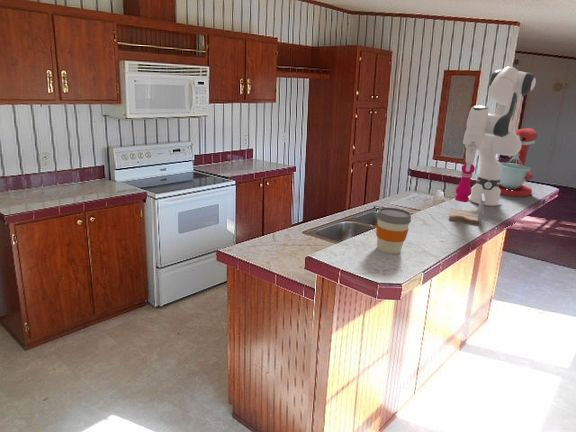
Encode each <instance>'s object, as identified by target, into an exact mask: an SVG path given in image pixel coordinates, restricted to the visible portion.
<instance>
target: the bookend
mask: <svg viewBox="0 0 576 432" xmlns="http://www.w3.org/2000/svg"><path fill="white" fill-rule="evenodd" d="M484 203H485V198H484V194H482V193H481V198H480V202H479V204H478V208H477V212H475V211H469V210H465V209H464V210H463V209H459V208H458V209H457V208H452V207H451V208H450V210H449V217H448V220H449V221H452V222H458V223H464V224H469V225H470V224H471V225H475V226H480V224H481V221H482V216H483V213H484V207H485V205H484Z"/></svg>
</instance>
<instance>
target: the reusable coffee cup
mask: <svg viewBox="0 0 576 432" xmlns="http://www.w3.org/2000/svg"><path fill="white" fill-rule="evenodd" d="M376 219H377V223H376V227H375V228H376V231H375V233H376V234H375V235H376V238H377V239H376V243H377V244H376V245H377V246H376V248H377V250H378V251H380V252H382V253H384V254H390V255H391V254H392V255H393V254H394V255H395V254H399V253H401V252H402V249H403V245H404V241H406V238H407V235H408V232H409V230H410V229H409V225H410V223H411V221H412V220H411V219H412V213H411V212H410V211H407V210H406V209H405V210H404V209H400V208H397V207H380V208H379V209H378V211H377V216H376Z"/></svg>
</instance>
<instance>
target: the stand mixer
mask: <svg viewBox="0 0 576 432" xmlns="http://www.w3.org/2000/svg"><path fill="white" fill-rule="evenodd" d="M515 132H516V135H517V136H518V138H519V139H520V140H521V149H520V151H519V152H518V153H517V154H516V155H514V156H512V157H511V159H510V160H509V161H507V162H500V163H501V165H502V171H501V175H500V184H499V186H498V187H499V189H500V190H501V192H500V195H502V194H504V195H503V196H507V195H509V196H508V197H514V196H527V197H529V195H530V196H531V195H532V193H533V190H532V187H530V186H527V185H524V183H525V182H526V180H527V181H528V180H532V179H533V174H532V173H531V167H529V166H526V165H525V164H526V159H527V155H528V152H529V148H530V145H533V144H536V139H537V135H538V133H537V131H536V130H535V129H533V128H532V127H528V128H519V129H517V130H515ZM506 189H508V190H506ZM511 190H513V191H511Z"/></svg>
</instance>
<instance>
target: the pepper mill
mask: <svg viewBox="0 0 576 432" xmlns="http://www.w3.org/2000/svg"><path fill="white" fill-rule="evenodd" d="M466 164H467V163H466V162H465V163H464V164H463V165H461V171H462V172H461V175H460V176H461V179H460V182H459V183H458V185H457V186H456V188H455V193H456V195H455V196H454V200H455V201H457V202H462V203H469V202H470V201H469V198H468V196H470V195H471V192H472V191H471V188H472V187H471V178H472V177H473V173H474V172H475V171H476V167H475V165H474V163H473V164H471V167H470V171H469V172H468V171H466Z"/></svg>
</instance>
